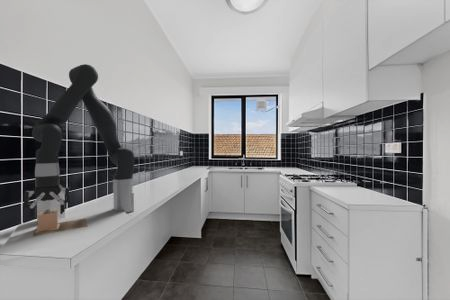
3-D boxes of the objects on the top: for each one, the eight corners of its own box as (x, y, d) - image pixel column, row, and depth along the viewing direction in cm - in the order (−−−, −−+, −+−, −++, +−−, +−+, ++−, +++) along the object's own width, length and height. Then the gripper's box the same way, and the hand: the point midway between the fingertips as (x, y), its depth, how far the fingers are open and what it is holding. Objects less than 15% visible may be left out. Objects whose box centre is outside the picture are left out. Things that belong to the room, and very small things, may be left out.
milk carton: (50, 225, 96) (49, 181, 96) (36, 224, 97) (36, 181, 97) (65, 220, 103) (64, 179, 103) (52, 219, 104) (52, 179, 104)
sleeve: (57, 224, 91) (57, 209, 92) (56, 228, 87) (56, 212, 87) (40, 227, 88) (40, 212, 88) (38, 231, 84) (38, 215, 84)
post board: (86, 221, 100) (86, 201, 100) (87, 229, 90) (87, 207, 90) (37, 229, 91) (37, 207, 91) (32, 240, 80) (32, 214, 80)
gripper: (69, 172, 95) (70, 210, 95) (25, 175, 87) (25, 216, 87) (69, 174, 89) (69, 214, 88) (21, 176, 80) (22, 221, 80)
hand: (48, 215), depth 88 cm, fingers open, 8 cm apart
